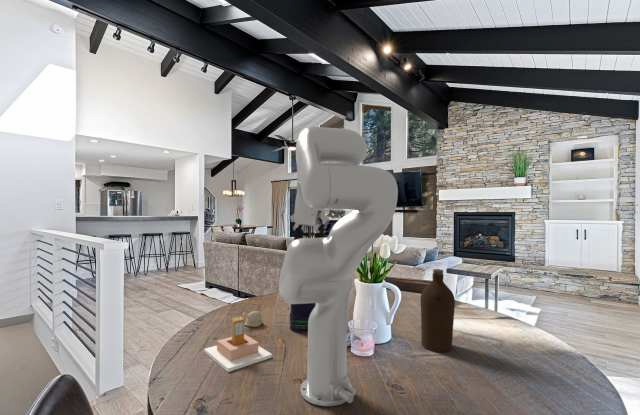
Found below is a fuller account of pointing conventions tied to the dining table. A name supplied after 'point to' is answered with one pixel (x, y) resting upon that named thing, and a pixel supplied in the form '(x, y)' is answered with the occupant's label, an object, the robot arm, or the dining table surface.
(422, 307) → the olive oil
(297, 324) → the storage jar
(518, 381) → the dining table surface
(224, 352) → the socket holder
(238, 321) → the supplement box
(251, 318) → the decorative ornament
